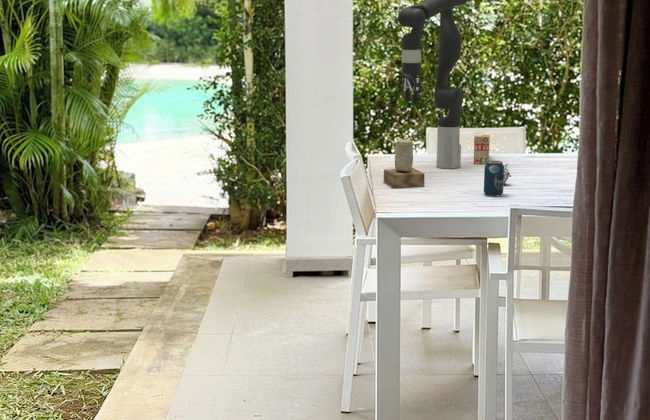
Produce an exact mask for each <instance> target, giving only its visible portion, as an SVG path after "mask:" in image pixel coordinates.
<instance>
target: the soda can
mask: <svg viewBox="0 0 650 420" xmlns="http://www.w3.org/2000/svg"><path fill="white" fill-rule="evenodd" d="M503 165H504V164H503V161H500V160H489V161H487V162H486V165H484V170H483V171H484V173H483V174H484V175H483V179H484V181H483V192H484V194H485V195H486V196H487V195H491V196H490V197H498V196H497V195H500V196H502V194H503V193H504V184H503V181H504V166H503Z"/></svg>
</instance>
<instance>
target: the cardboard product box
mask: <svg viewBox="0 0 650 420" xmlns="http://www.w3.org/2000/svg"><path fill="white" fill-rule="evenodd" d="M490 136H491V135H490V132H488V131H474V139H473V140H474V141H473V144H474V145H473V165H484V166H485V165H486V162H487V161H490V160H489V157H490V139H491V138H490Z"/></svg>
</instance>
